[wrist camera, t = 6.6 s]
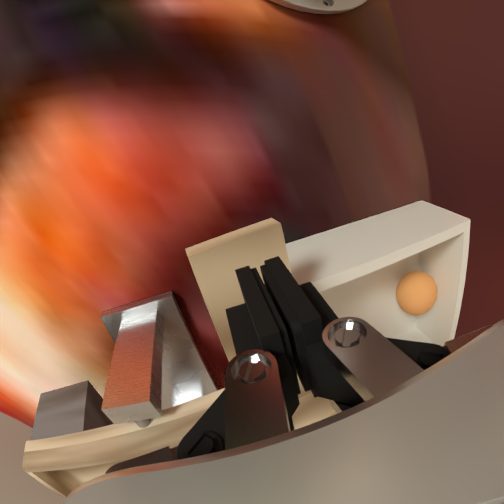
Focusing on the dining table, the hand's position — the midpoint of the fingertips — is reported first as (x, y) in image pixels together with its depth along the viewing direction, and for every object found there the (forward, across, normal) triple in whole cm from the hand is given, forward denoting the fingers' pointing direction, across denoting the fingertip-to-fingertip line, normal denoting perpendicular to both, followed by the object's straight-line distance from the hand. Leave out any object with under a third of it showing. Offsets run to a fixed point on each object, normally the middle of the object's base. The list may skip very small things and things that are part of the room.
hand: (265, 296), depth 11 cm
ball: (+8, -14, +10) cm, 19 cm away
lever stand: (+10, +8, +10) cm, 17 cm away
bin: (+10, -10, +10) cm, 17 cm away
